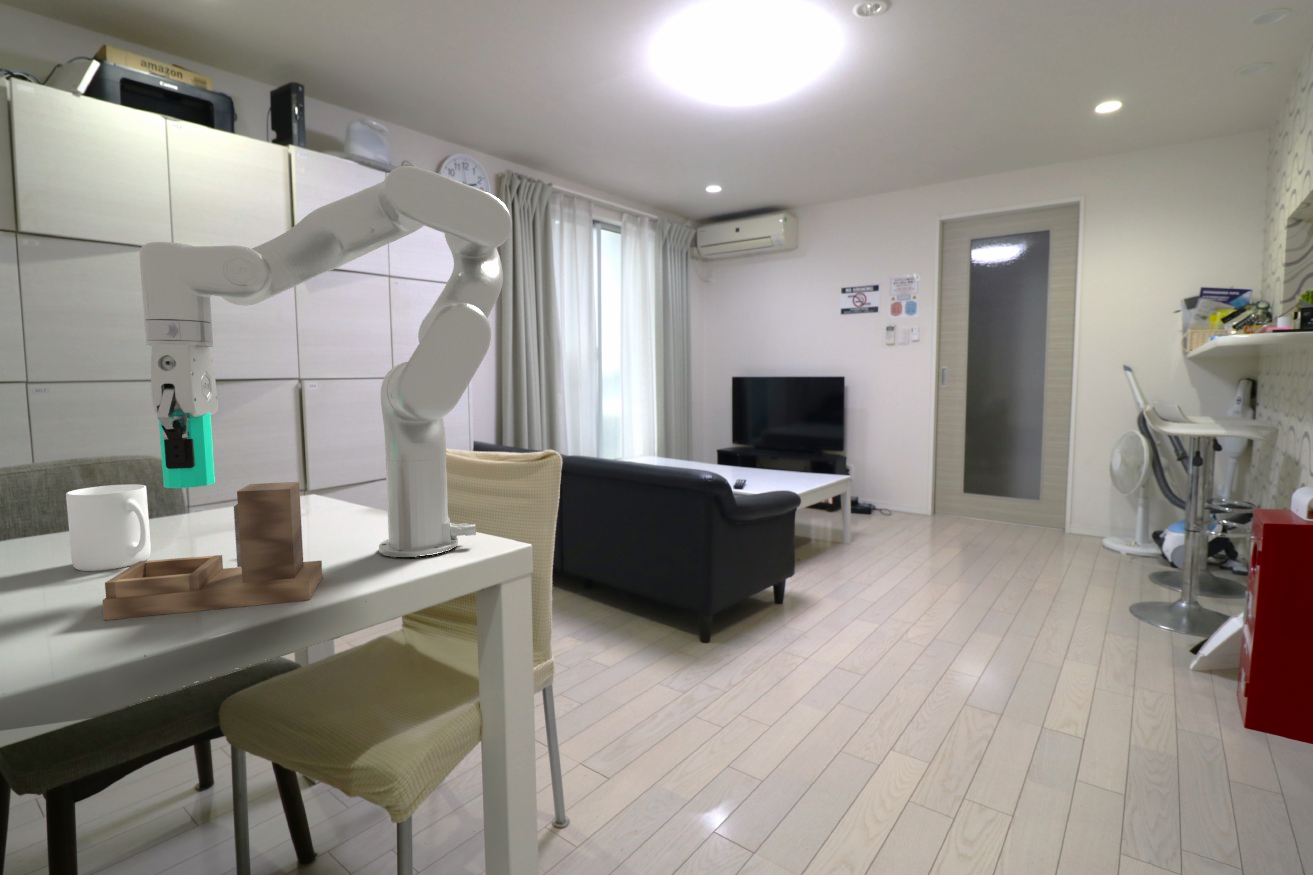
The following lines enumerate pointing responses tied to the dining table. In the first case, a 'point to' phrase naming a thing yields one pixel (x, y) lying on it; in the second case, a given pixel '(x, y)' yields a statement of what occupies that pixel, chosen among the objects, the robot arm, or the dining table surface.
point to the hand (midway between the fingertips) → (188, 463)
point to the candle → (202, 456)
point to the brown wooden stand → (203, 584)
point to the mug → (108, 526)
